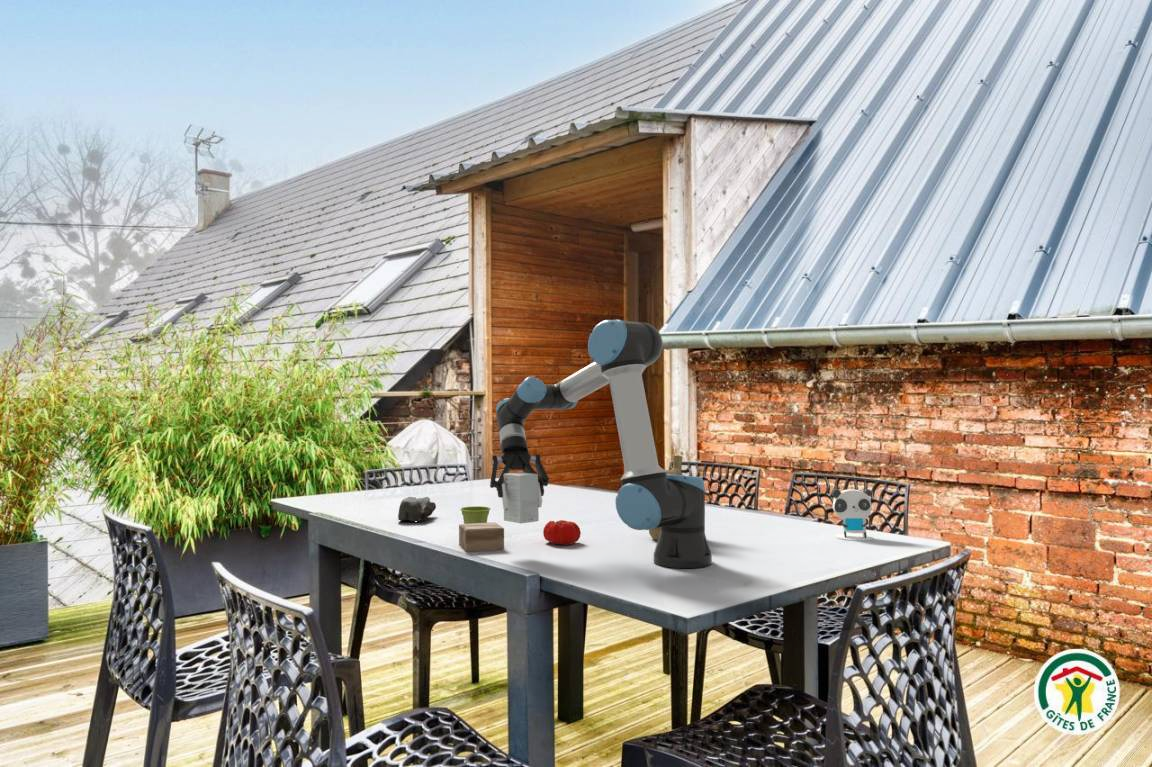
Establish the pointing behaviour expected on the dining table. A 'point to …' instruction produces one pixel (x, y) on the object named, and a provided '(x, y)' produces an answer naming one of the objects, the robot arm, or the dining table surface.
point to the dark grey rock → (415, 508)
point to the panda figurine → (852, 513)
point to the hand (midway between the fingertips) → (522, 504)
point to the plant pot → (475, 514)
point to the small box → (521, 497)
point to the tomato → (561, 532)
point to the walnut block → (481, 536)
